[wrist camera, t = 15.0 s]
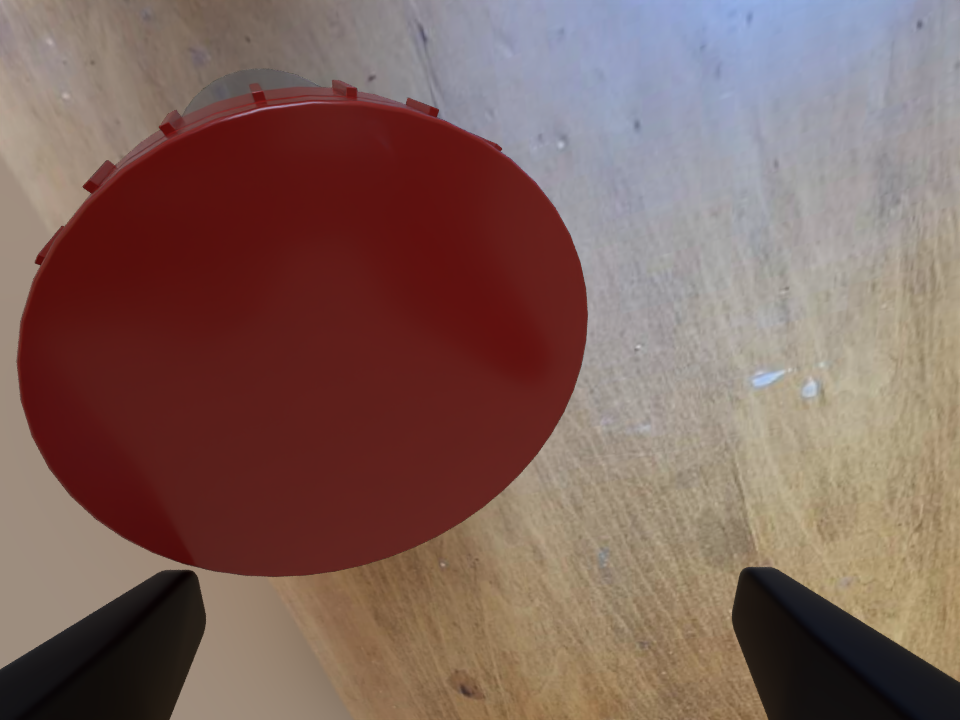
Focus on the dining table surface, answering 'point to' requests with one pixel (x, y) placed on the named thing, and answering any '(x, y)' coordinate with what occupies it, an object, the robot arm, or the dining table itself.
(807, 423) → the dining table surface
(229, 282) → the jar lid
